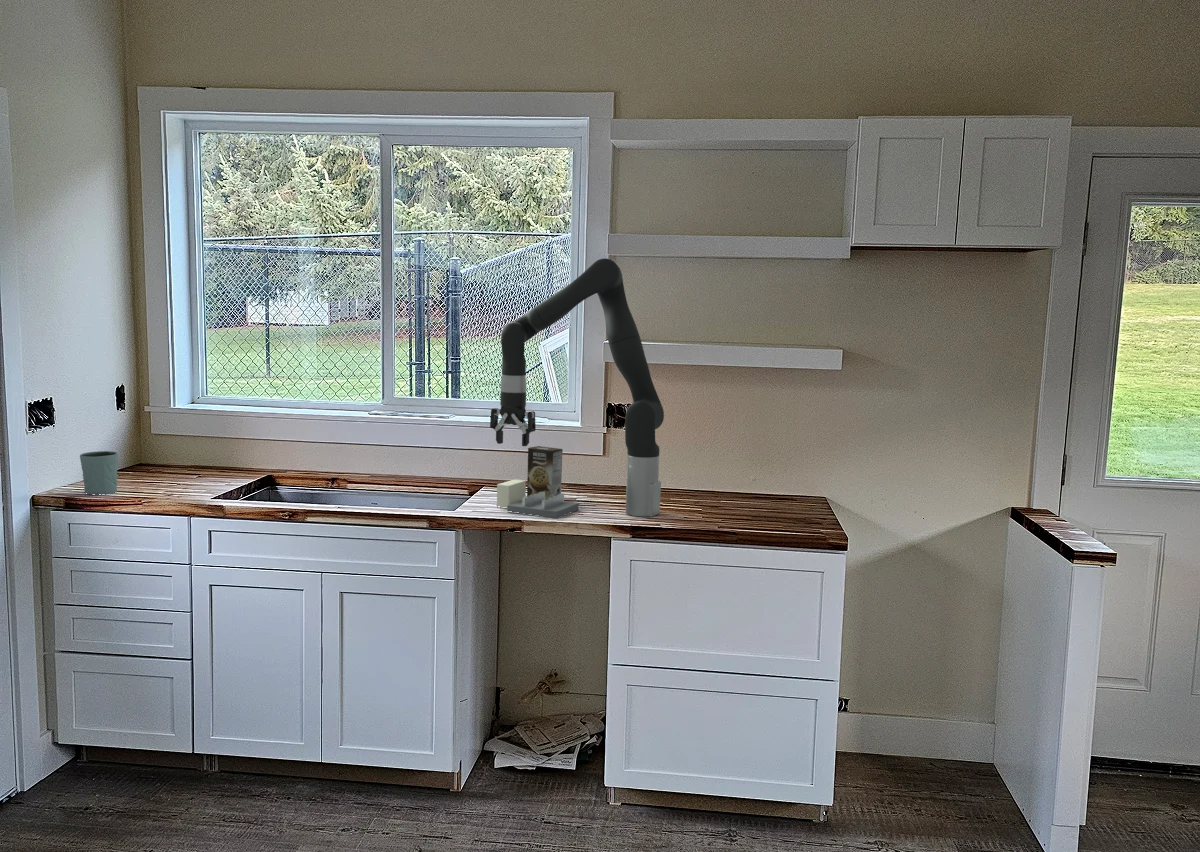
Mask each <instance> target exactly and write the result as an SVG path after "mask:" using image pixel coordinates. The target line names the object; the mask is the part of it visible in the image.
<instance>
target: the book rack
mask: <svg viewBox="0 0 1200 852" xmlns="http://www.w3.org/2000/svg"><path fill="white" fill-rule="evenodd" d="M579 505H580V504H579V502H574V501H573V502H572V501H565V493H561V494H559V495H556V496H553V497H550V498H547V499H545V491H542V492H539V493H536V494H533V495H530V496H527V495H526V497H524V498H522V501H519V502H516V503H513V504H510V505H507V509H506V511H512V512H519V513H525V514H532V515H531V516H533V515H539V516H538V517H540V516H545V517H544V518H548V517H551V518H550V519H555V518H557V519H559V518H561V516H562V517H564V516H566V515H565V514H567V515H569V514H571V513H570V512H572V513H574V512H576V511H575V510H577V511H579V510H578V509H579V508H580V506H579ZM573 511H574V512H573ZM568 513H569V514H568ZM525 514H524V515H525ZM563 515H564V516H563Z"/></svg>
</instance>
